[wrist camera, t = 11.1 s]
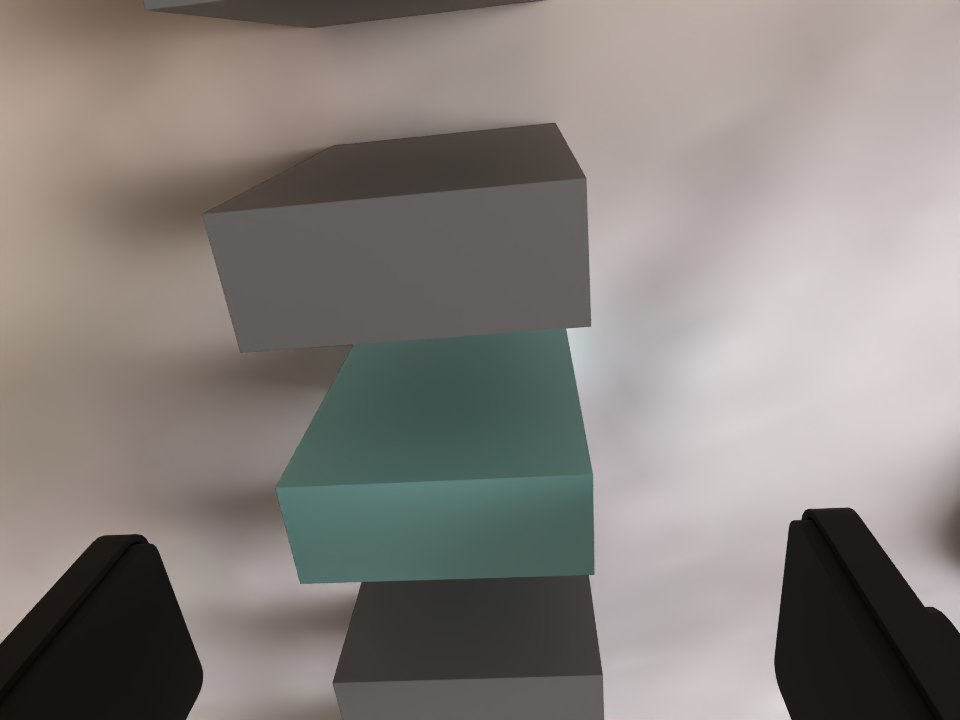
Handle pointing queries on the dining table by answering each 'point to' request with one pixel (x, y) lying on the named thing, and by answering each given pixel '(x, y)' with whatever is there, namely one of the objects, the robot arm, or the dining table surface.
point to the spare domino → (444, 464)
